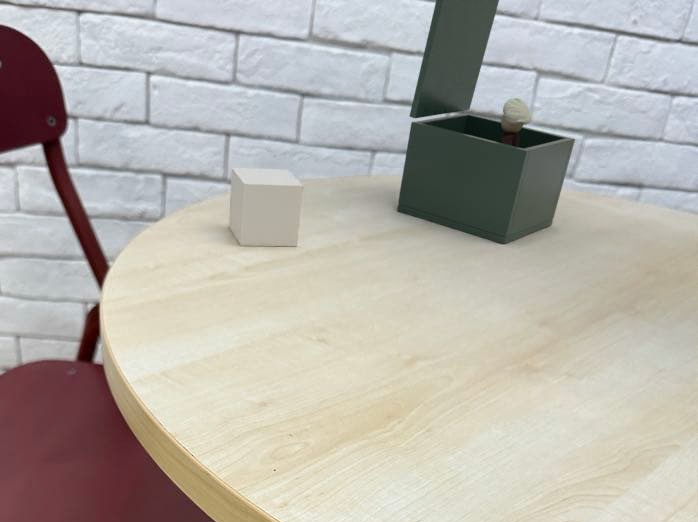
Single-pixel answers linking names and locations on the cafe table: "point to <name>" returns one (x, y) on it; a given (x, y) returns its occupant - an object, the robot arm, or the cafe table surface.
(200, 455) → the cafe table surface
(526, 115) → the grandmother figurine
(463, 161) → the bin
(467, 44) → the bin lid
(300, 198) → the light grey cube
